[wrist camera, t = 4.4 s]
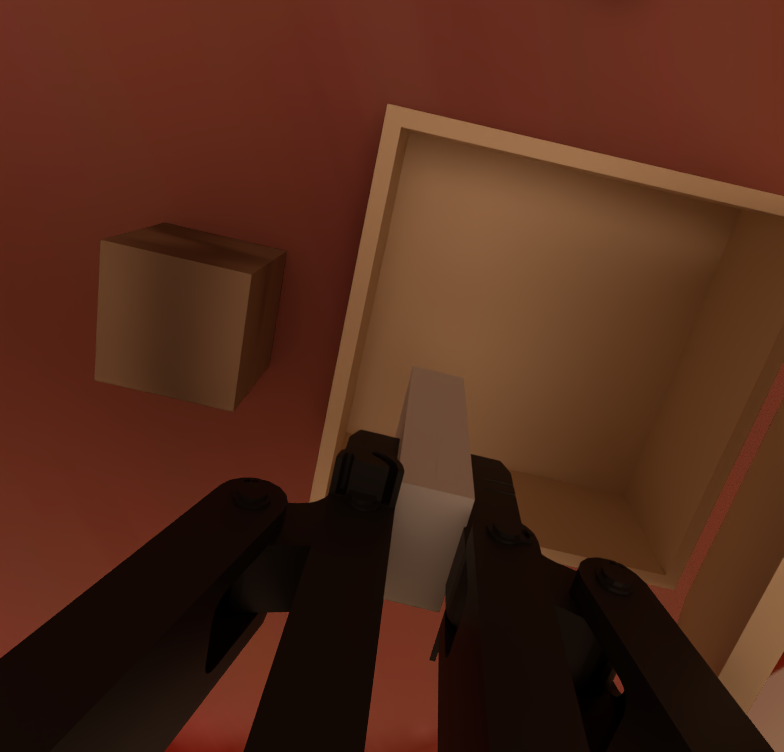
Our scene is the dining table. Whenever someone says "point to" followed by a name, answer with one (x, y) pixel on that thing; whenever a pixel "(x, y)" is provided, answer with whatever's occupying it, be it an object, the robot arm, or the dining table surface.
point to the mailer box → (567, 328)
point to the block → (186, 313)
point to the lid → (744, 579)
